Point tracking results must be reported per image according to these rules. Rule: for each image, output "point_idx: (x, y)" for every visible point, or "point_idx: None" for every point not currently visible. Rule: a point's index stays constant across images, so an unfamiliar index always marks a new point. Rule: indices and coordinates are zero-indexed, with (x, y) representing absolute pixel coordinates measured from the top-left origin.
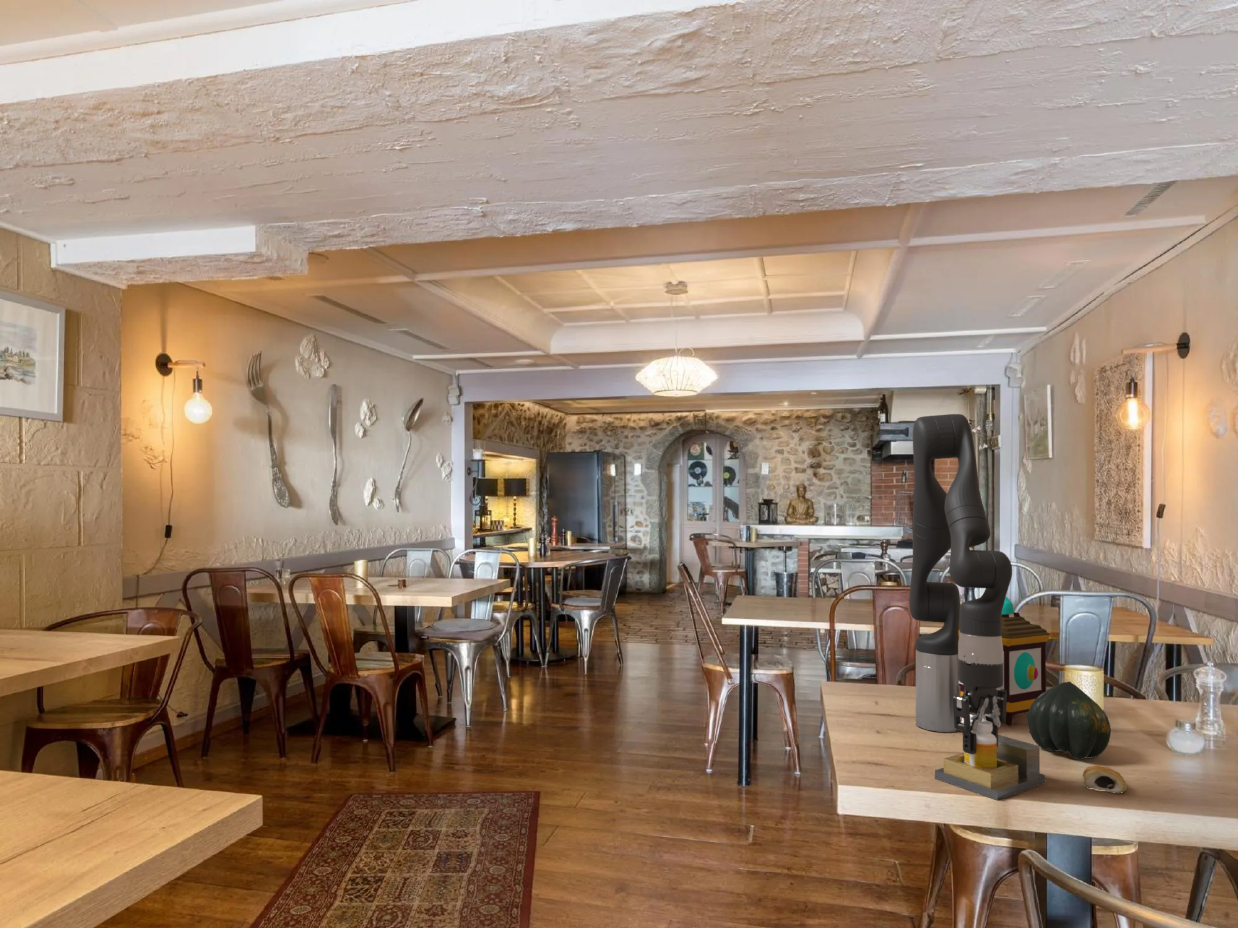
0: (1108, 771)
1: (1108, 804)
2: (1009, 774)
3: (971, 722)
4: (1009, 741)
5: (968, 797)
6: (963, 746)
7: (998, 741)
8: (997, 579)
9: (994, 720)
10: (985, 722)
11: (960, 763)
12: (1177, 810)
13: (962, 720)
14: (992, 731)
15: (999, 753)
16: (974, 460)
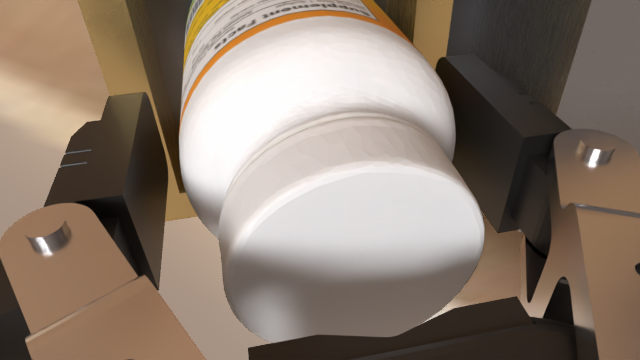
0: None
1: (476, 292)
2: None
3: (224, 264)
4: (634, 96)
5: (37, 121)
6: (75, 142)
7: (581, 64)
8: None
9: (521, 290)
10: (380, 300)
11: (101, 42)
12: None
13: (25, 311)
14: (483, 183)
15: (520, 46)
16: None
